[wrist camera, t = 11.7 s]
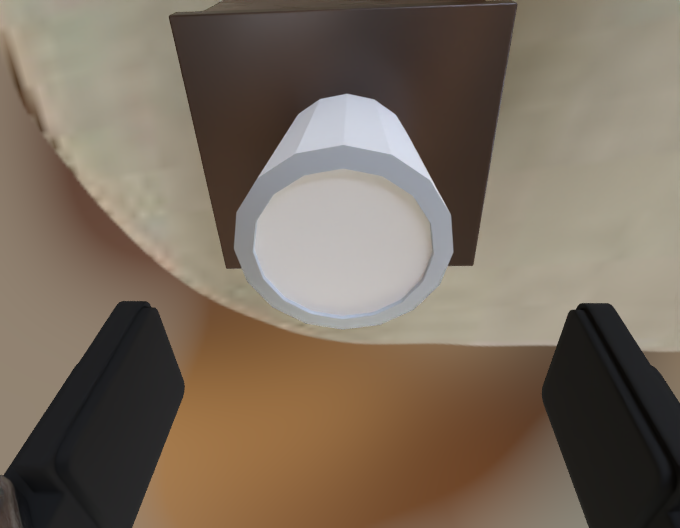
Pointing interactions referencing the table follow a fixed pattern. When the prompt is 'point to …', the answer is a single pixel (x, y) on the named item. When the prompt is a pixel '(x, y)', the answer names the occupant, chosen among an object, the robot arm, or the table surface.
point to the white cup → (344, 219)
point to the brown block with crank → (347, 88)
